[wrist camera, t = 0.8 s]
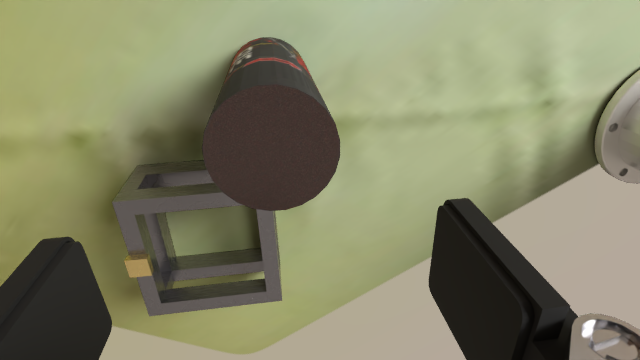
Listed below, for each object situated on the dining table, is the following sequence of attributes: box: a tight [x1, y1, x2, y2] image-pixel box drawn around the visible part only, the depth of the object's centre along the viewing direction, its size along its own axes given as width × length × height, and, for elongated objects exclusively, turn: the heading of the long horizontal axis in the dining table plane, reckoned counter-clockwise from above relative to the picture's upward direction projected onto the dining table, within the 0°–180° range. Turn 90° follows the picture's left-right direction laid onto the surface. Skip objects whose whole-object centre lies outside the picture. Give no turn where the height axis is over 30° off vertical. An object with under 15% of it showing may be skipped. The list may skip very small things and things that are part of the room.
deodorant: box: [202, 37, 340, 211], centre depth 23 cm, size 6×6×15 cm
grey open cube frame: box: [112, 160, 282, 316], centre depth 32 cm, size 11×11×7 cm
